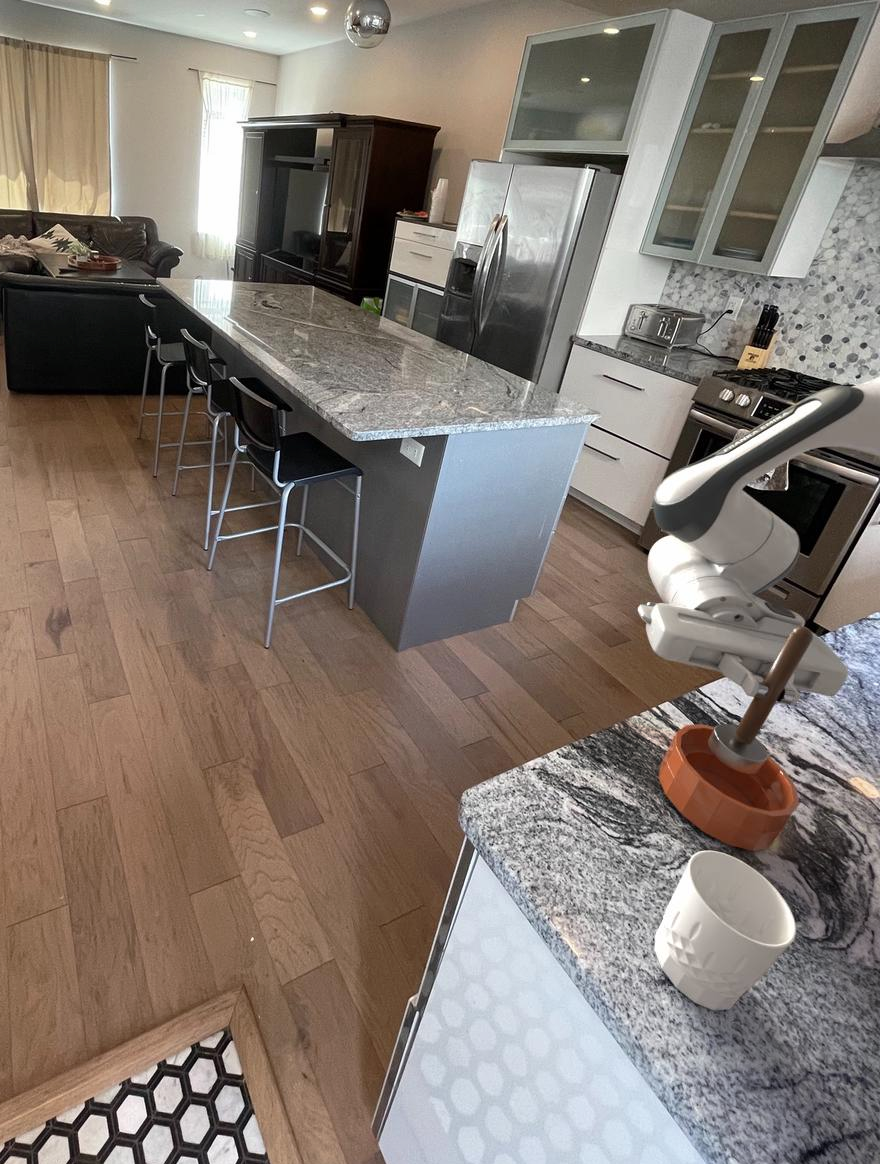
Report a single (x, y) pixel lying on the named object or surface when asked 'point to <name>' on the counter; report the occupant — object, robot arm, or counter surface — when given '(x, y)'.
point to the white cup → (722, 930)
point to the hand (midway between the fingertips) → (774, 696)
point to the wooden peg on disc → (759, 710)
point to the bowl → (726, 792)
